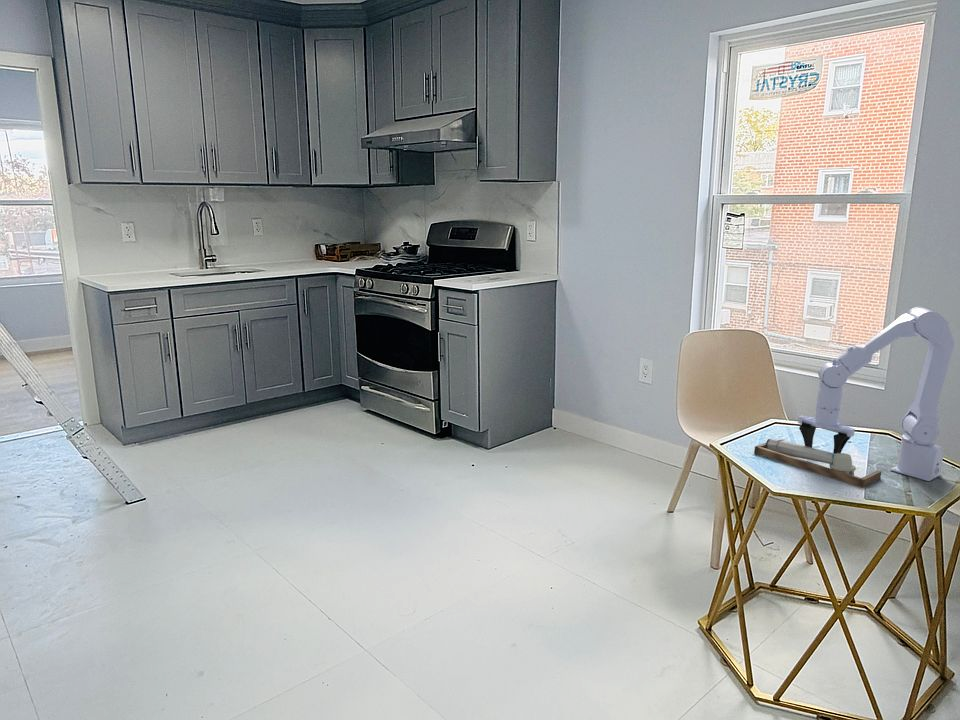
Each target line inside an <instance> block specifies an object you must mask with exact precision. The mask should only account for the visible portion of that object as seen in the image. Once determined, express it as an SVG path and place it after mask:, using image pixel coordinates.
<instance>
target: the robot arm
mask: <svg viewBox="0 0 960 720" xmlns="http://www.w3.org/2000/svg"><path fill="white" fill-rule="evenodd" d="M917 334H918V335H920V337H921V338H922V339H923V340H924V342H926V343H927V345H928V349H927V353H926V356H925V361H924V364H923V367H922V371H921V375H920V377H919V383H918V386H917V390H916V394H915V397H914V401H913V403H912V404H911V405H910V406H909V408H908V411H907V413H906V414H905V415H904V416H903V417H902V419H901V423H900V425H901V428H902V429H903V431H904V432H903V434H902V435H901V440H900V447H899V454H898V460H897V465H895V466H893V467H891V468H890V471H892V472H895V473H898V474H903V475H905V476H908V477H912V478H916V479H920V480H924V481H926V482H930V481H932V480H934V479H936V478H937V477H940V476H941V475H942V473H941V471H942V464H943V459H944V455H945V454H944V452H945V451H944V448H943V447H942V446H940V445H937V444H936V443H935V441H936V440H937V439H938V437H939V435H940V430H939V426H938V425H939V424H938V423H939V413H938V405H939V402H940V398H941V395H942V394H941V393H942V390H943V387H944V383H945V380H946V375H947V372H948V369H949V365H950V362H951V358H952V354H953V351H954V347H955V340H954V337H953V335H952V333H951V329H950V326H949V321H948V320H947V319H946V318H945V317H944V316H942V315H941V314H940V313H939V312H937V311H932V310H930V309H929V308H927V307H925V306H916V307H913V308H911V309H910V310H909V311H908V312H907V313H903V314H901V315H900V316H898V318H896V320H894V321H893V322H891V323H890V324H889V325H888V326H886V327H885V328H883V329H882V330H881V331H880V332H879V333H876V335H875V336H873V337H872V338H871V339H869V340H868V341H867V342H866V343H864V344H855V345H853V346H852V345H850V346H848V347H846V351H845V352H843V353H842V354H840V355H839V356H838V357H836V358H832V359H831V362H826V363H824V364H823V365H822V366H821V367H820V369H819V370H818V371H817V374H818V377H819V388H818V393H817V400H816V408H815V413H814V415H815V416H813V417H812V416H806V415H800V416H798V420H797V423H798V424H800V425H799V431H800V433H801V436H802V439H803V442H804V446H807V447H811V448H813V444H814V443H813V442H814V438H815V437H814V436H815V432H816V429H817V428H818V429H822V430H826V431H830V432H832V433H833V432H834V433H836V434H834V435H833V450H832V451H833V452H832V453H835V454H836V453H842V451H843V449H844V447H845V446H846V444H847V443H848V441H849V440H850V439H851V438H852V437H854V436H855V432H856V428H853V427H849V426H848V425H847V426H846V425H845V424H843V423H842V424H841V423H839V418H840V411H841V404H842V395H843V386H844V385H845V384H846V383H847V380H848V377H850V376H852V375H854V374H855V373H857V372H858V371H860V370H861V369H863V368H864V367H865V366H867V365H868V364H869V363H871V362H872V359H873V355H874V354H876V353H878V352H879V351H881V350H882V349H884V348H885V347H887V346H889V345H891V344H892V343H894V342H896V341H897V340H898V339H900V338H905V337H906V338H907V337H917Z"/></svg>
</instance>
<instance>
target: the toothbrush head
mask: <svg viewBox="0 0 960 720" xmlns="http://www.w3.org/2000/svg"><path fill="white" fill-rule="evenodd" d="M765 443H766V449H769V450H772V451H775V452H779V453H782V454H785V455H788V456H792V457H795V458H798V459H801V460H806V461H811V462H818V463H822V464H823V463H824V464H829V468H831V469H834V470H837V471H840V472H844V473H847V474H850V475H853V476H855V471H856V470H857V467H856V465H853V461H852V457H851V455H850V454H848V453H843V452H841V453H836V454H835V453H833V452H830V451H826V450H821V449H819V448H814V447H812V448H811V447H807V446H805V445H801V444H798V443H794V442H790V441H785V440H784V439H783V438H781V439H775V438H768V439H767V440H766V442H765Z"/></svg>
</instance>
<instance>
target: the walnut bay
mask: <svg viewBox="0 0 960 720" xmlns="http://www.w3.org/2000/svg"><path fill="white" fill-rule="evenodd" d="M753 451H754V452H753V454H756V455H759V456H761V457H765V458H769V459H772V460H775V461H778V462H780V463H781V462H782V463H785V464H788V465H790V466H793V467H796V468H800V469H803V470H807V471H808V472H809V471H810V472H813V473H815V474H818V475H822V476H825V477H828V478H831V479H833V480H834V479H835V480H838V481H841V482H844V483H847V484H850V485H853V486H857V487H859V488H865V487H866V486H868V485H871V484H872V483H874V482H876V481H879V480H881V477H882V473H883V472H882V471H881V470H875V471H873V472H871V473H868V474H867V475H865V476H862V477H860V476H856V475H854V476H853V475H850V474H847V473H844V472H840V471H837V470H834V469H831V468H830V467H826V466H823V465H820V464H818V463H815V462H812V461H809V460H806V459H802V458H797V457H792V456H788V455H785V454H782V453H779V452H775V451H772V450H769V449H766V442H764V443H760V444H758V445H756V446H754V450H753Z"/></svg>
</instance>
